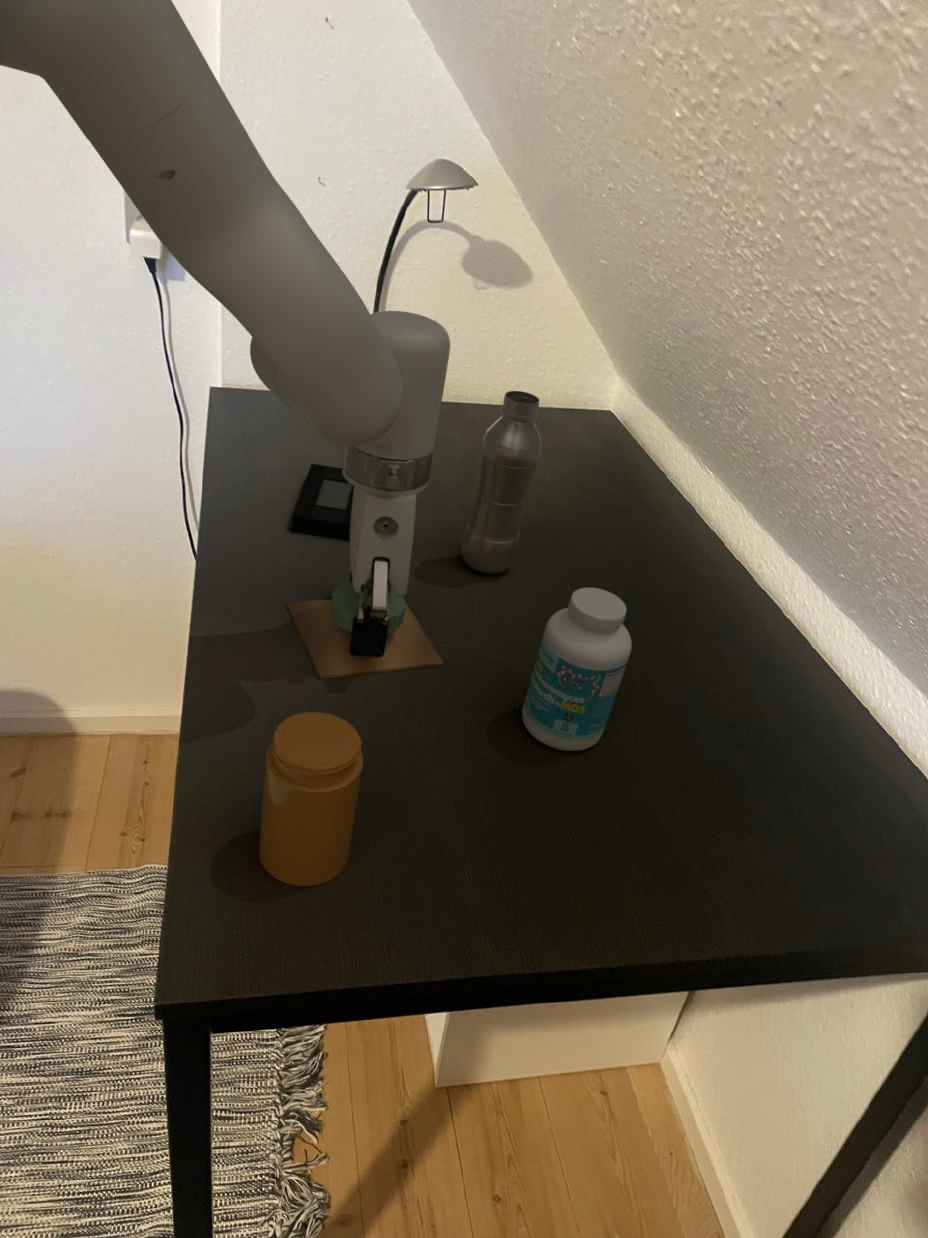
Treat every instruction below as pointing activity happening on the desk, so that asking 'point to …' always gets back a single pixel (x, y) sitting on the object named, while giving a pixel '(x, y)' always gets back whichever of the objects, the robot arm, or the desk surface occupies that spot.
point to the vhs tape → (324, 503)
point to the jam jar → (310, 798)
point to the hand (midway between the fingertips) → (364, 629)
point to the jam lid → (347, 606)
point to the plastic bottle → (503, 485)
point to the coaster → (333, 641)
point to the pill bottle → (578, 671)
